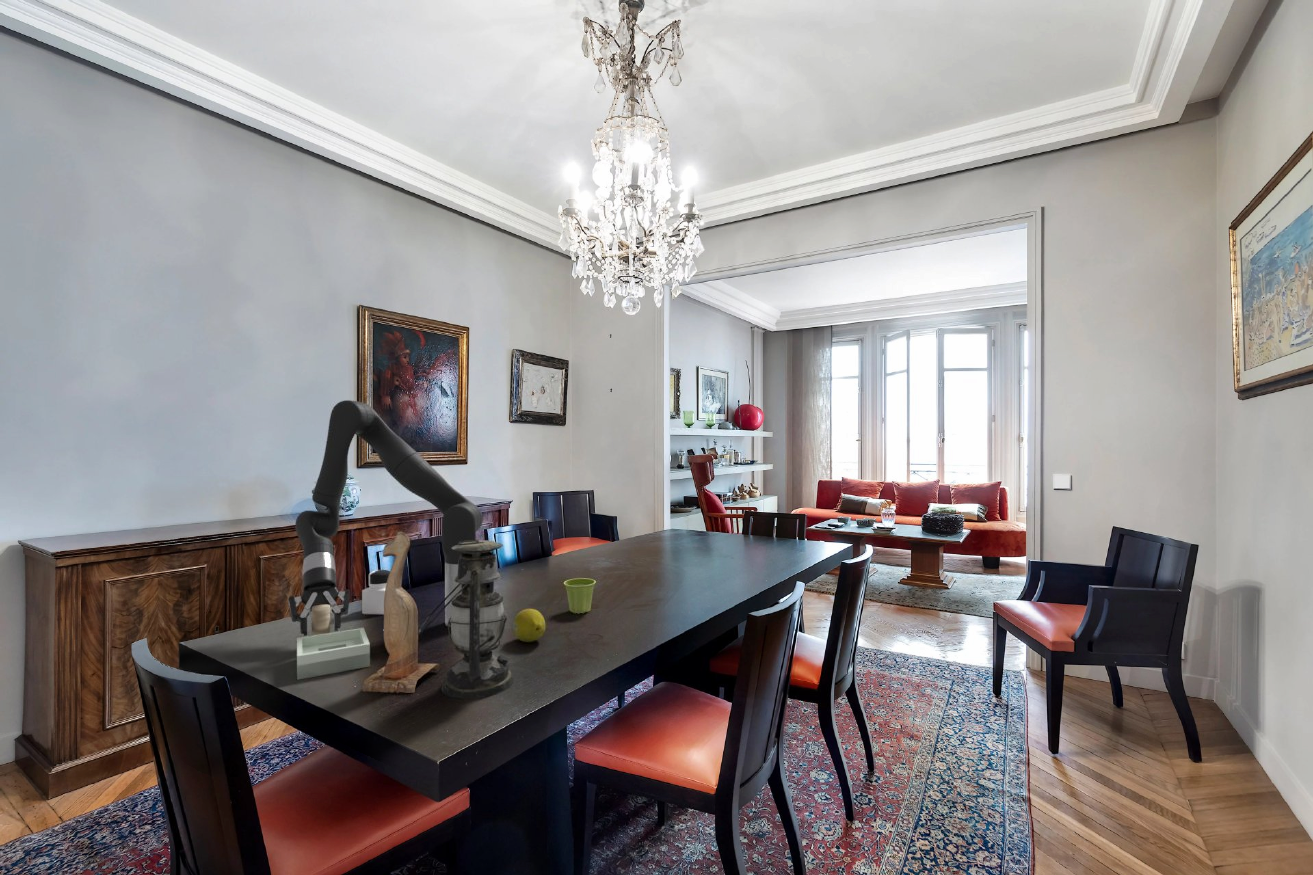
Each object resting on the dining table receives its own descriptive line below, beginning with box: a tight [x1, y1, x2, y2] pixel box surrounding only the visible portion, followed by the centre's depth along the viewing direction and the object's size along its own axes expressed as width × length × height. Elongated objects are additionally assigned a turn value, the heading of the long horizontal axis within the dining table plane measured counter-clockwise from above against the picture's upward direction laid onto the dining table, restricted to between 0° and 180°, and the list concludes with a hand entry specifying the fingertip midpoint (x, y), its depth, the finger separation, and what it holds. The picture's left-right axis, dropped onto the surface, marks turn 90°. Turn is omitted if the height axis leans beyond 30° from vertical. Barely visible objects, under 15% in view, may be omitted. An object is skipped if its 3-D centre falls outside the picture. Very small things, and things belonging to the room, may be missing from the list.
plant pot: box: [563, 577, 597, 614], centre depth 176 cm, size 9×9×9 cm
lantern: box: [418, 539, 515, 700], centre depth 123 cm, size 19×19×30 cm
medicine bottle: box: [361, 569, 391, 615], centre depth 177 cm, size 7×7×12 cm
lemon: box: [512, 608, 546, 643], centre depth 149 cm, size 11×8×8 cm
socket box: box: [296, 627, 371, 680], centre depth 135 cm, size 14×14×5 cm
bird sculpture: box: [362, 531, 440, 694], centre depth 125 cm, size 11×12×32 cm
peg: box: [311, 604, 331, 636], centre depth 146 cm, size 4×4×10 cm
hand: (321, 631), depth 144 cm, fingers open, 6 cm apart
